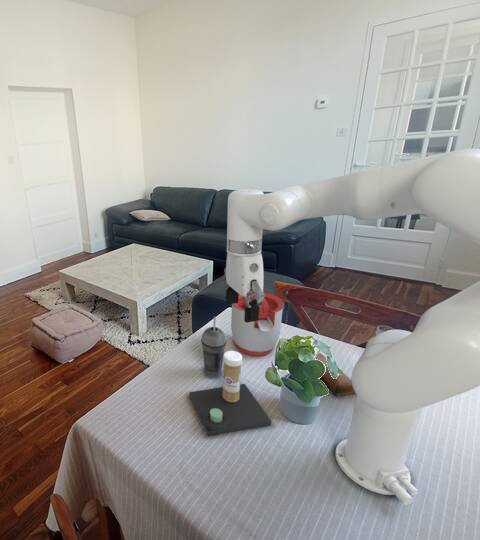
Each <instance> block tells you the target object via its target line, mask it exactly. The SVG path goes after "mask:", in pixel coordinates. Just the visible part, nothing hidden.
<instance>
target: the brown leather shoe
mask: <svg viewBox="0 0 480 540" xmlns="http://www.w3.org/2000/svg"><path fill="white" fill-rule="evenodd" d="M317 353H318V355H317V357H316V359H318V360H320V361H322V362H323V363H324V364H325V366H326V372H325V374H324V375H323V376H322V377H321V378H320V379H321V380H322V381H323V382H324V383H325V384H326V385H327V386H326V385H325V384H324V383H323V382H322V381H321V380H320V379H319V380H320V381H321V382H322V383H323V384H324V385H325V386H326V387H327V388H328V389H329V390H330V391H331V392H332V393H333V394H335V396H336V397H341V396H347V395H351V394H356V392H355V391H354V388H353V385H352V381H351V377H349V376H348V375H347V374H346V373H344V372H343V374H342V375H339V376H338V377H337V379H333V378H332V377H331V375H330V373H329V370H328V367H327V364H326V362H325V361H326V356H324V355H323V354H321V353H319V352H317Z"/></svg>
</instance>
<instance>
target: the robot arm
mask: <svg viewBox="0 0 480 540" xmlns="http://www.w3.org/2000/svg"><path fill="white" fill-rule="evenodd" d="M420 214H421V215H424V214H425V215H426V216H428V217H429V218H431V219H432V220H434V221H436V222H437V223H439V224H440V225H443V226H444V227H446V228H447V229H449V230H451V231H452V232H454V233H456V234H458V235H460V236H462V237H464V238H466V239H467V240H469V241H471V242H473V243H475V244H477V245H479V246H480V148H464V149H463V148H462V149H456V150H452V151H447V152H441V153H437V154H433V155H428V156H424V157H423V156H422V157H418V158H413V159H409V160H405V161H399V162H396V163H395V162H394V163H392V164H391V163H390V164H386V165H381V166H377V167H370V168H366V169H362V170H361V169H360V170H357V171H353V172H350V173H347V174H344V175H339V176H334V177H329V178H325V179H319V180H315V181H310V182H306V183H301V184H295V185H291V186H288V187H285V188H282V189H280V190H276V191H273V192H269V193H264V192H263V191H262V190H260V189H257V188H256V189H254V188H244V189H235V190H233V191H231V192H230V193H229V194H228V197H227V217H226V218H227V220H226V221H227V222H226V224H227V225H226V253H227V254H226V263H225V268H223V271H224V281H225V304H226V305H232V304H234V303H238V298H239V294H240V295H241V296H243V297H244V298H245V301H246V305H247V306H245V315H244V321H245V322H246V323H247V322H253V321H258V317H259V307H260V306H261V304H262V302H263V299H264V297H265V295H264V293H265V292H264V261H263V260H264V259H263V254H262V250H263V249H262V247H263V232H264V230H267V231H272V232H273V231H274V232H275V231H281V230H284V229H286V228H287V227H290V226H292V225H293V224H295V223H297V222H299V221H302V220H307V219H314V218H322V217H330V216H331V217H333V216H347V217H352V218H354V219H356V220H360V221H374V220H380V219H389V218H395V217H404V216H411V215H412V216H414V215H420ZM250 291H253V293H249V294H247V293H248V292H250ZM263 292H264V293H263ZM253 296H254V299H253V300H252V301H251V302H250V299H249V297H253ZM374 336H375V337H374ZM374 336H373V337H374V338H373V339H372V340H371V341H370V342H369V344H368V345H367V347H366V346H365V348H364V349H363V351H362V353H361V355H360V357H359V358H358V360H357V361H356V363H355V364H354V366H353V369H352V371H351V377H350V379H351V381H352V385H353V388H354V391H355V392H356V393H355V394H356V396H355V400H354V404H353V409H352V413H351V418H350V423H349V429H348V434H347V438H345V439H343V440H340V441H339V442H338V443H337V445H336V448H335V452H334V453H335V454H334V455H335V461H336V462H337V464H338V466H339V468H340V469H341V471H342V472H343V473H344V474H345V475H346V476H347V477H348V478H349V479H350V480H352V481H353V482H354V483H356V485H357V484H358V485H359V486H360V487H362V488H364V489H365V490H369V491H371V492H373V493H377V494H380V495H385V496H396V497H397V498H398V499H399V501H400V502H401V503H402V504H403V505H404V506H409V505H411V504H413V503H414V501H415V500H414V498H413V497H412V496H416V495H418V494H419V492H420V491H419V490H418V489H417V487H415V486H414V485H413V484H412V483H411V479H412V477H411V473H410V469H409V468H408V467H407V465H406V459H407V456H408V453H409V450H410V447H411V443H412V439H413V437H414V434H415V429H416V426H417V424H418V421H419V417H420V414H421V410H422V409H423V408H427V407H429V406H431V405H434V404H437V403H440V402H443V401H445V400H447V399H450V398H454V397H456V396H459V395H461V394H463V393H466V392H469V391H471V390H474V389H477V388H478V387H480V280H478V281H477V282H475V283H473V284H472V285H470V286H468V287H466V288H464V289H463V290H461V291H459V292H458V293H456V294H454V295H452V296H450V297H448V298H447V299H445V300H443V301H441V302H439V303H436V304H435V305H433V306H431V307H429V308H428V309H427V310H426V311H425V312H424V313H423V314H422V315H421V317H420V318H419V320H418V321H417V323H416V325H415V327H414V330H413V331H412V332H411V331H408V330H403V329H395V330H388V331H384V332H382V333H380V334H378V335H377V336H376V335H374ZM408 492H409V493H410V494H411V495H410V494H409V493H408Z"/></svg>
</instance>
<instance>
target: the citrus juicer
mask: <svg viewBox="0 0 480 540" xmlns="http://www.w3.org/2000/svg"><path fill="white" fill-rule="evenodd" d="M249 293H253V291H250V292H248V293H247V294H249ZM263 293H264V295H265V297H264V299H263V302H262V304H261V306H260V307H259V317H258V321H253V322H247V323H246V322H245V321H244V315H245V306H247V305H246V301H245V298H244V297H243V296H241V295H240V294H239V298H238V303H234V304H231V315H230V316H231V317H230V325H231V326H230V329H231V335H232V339H233V342H234V345H235V347H236V348H237V350H239V351H240V352H241V353H244V354H245V355H250V356H254V357H263V356H267V355H269V354H271V353H272V352H273V350H274V349H275V348H276V345H277V343H278V341H279V338H280V335H281V328H282V319H283V318H282V317H283V309H284V306H285V303H284V301H283V299H281V298H280V297H278V296H276V295H274V294H272V293H269V292H264V291H263ZM249 299H250V302H251V301H252V300H253V299H254V296H253V297H249Z"/></svg>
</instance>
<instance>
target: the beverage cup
mask: <svg viewBox="0 0 480 540" xmlns="http://www.w3.org/2000/svg"><path fill="white" fill-rule="evenodd" d="M216 318H217V317H216V316H213V325H212V326H209V327H207V328H206V329H204V330H203V332H202V334H201V338H200V342H201V346H202V355H203V364H204V373H205V375H206V376H207V377H209V378H215V379H216V378H219V377H220V376H221V374H222V370H223V369H222V368H223V363H224V361H223V357H224V353H225V349H226V345H227V341H228V340H227V337H226V334H225V332H224V331H223V330H222V329H221V328H220V327H217V326H216V322H217V319H216Z"/></svg>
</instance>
